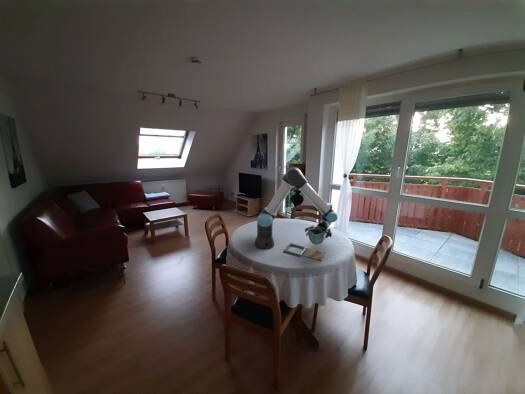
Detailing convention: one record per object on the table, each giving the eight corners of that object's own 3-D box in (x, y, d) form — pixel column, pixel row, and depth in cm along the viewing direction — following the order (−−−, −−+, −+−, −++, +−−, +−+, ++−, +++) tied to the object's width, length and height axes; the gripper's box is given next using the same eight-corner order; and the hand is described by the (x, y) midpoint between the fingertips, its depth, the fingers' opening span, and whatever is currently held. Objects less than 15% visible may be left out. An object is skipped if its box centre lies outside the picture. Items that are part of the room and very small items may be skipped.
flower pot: (314, 247, 141) (315, 234, 139) (306, 241, 149) (307, 229, 146) (325, 244, 144) (326, 232, 142) (316, 239, 152) (317, 228, 150)
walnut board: (303, 256, 146) (303, 255, 146) (308, 249, 157) (308, 248, 156) (320, 260, 141) (320, 259, 140) (324, 253, 151) (325, 252, 151)
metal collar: (283, 251, 152) (283, 249, 152) (290, 244, 163) (290, 242, 163) (300, 256, 146) (301, 254, 145) (307, 248, 157) (307, 247, 157)
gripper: (338, 233, 155) (332, 245, 137) (307, 227, 167) (297, 237, 148) (339, 224, 153) (333, 235, 135) (308, 218, 165) (298, 228, 146)
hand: (314, 236), depth 142 cm, fingers closed on flower pot, 11 cm apart
